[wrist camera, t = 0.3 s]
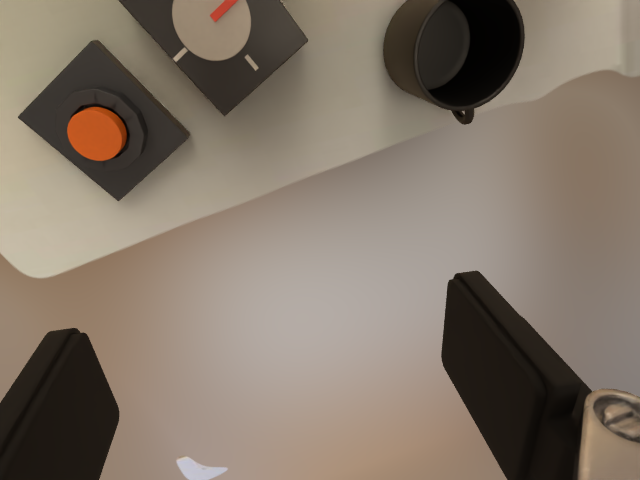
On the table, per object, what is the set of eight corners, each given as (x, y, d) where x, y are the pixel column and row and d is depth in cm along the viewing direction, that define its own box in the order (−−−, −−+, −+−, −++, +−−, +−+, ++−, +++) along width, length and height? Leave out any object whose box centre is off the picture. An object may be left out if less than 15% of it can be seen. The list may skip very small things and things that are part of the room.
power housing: (26, 113, 39) (6, 121, 36) (98, 39, 37) (84, 41, 34) (122, 195, 44) (113, 208, 41) (190, 133, 42) (185, 142, 39)
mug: (404, 132, 45) (437, 155, 37) (369, 16, 39) (399, 14, 31) (485, 96, 45) (536, 112, 37) (462, -27, 39) (516, -40, 31)
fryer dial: (216, 71, 36) (211, 77, 32) (166, 13, 33) (153, 12, 29) (265, 25, 35) (266, 26, 31) (216, -38, 32) (211, -47, 28)
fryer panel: (128, -2, 36) (114, -4, 32) (211, -88, 34) (206, -101, 30) (226, 108, 41) (224, 116, 38) (303, 38, 39) (309, 40, 36)
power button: (63, 128, 37) (55, 133, 36) (96, 96, 36) (90, 99, 35) (105, 164, 39) (99, 170, 38) (137, 134, 38) (132, 139, 37)
